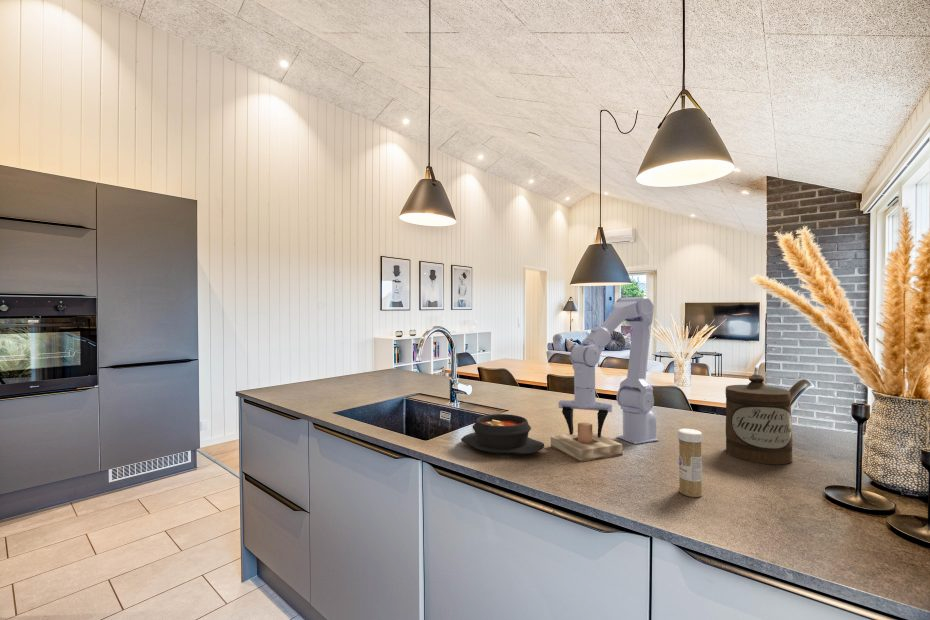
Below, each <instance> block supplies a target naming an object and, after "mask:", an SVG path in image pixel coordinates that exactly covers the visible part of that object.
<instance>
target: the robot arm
mask: <svg viewBox="0 0 930 620" xmlns="http://www.w3.org/2000/svg"><path fill="white" fill-rule="evenodd" d="M612 308H613V309H612V310H611V312H610V313H609V315H608V316H607V317H606V319H605V320H604V322H603V323H602V324H601V326H596V327H592V328H591V330H590V333H588V335H587V336H586V337H585V338H584V339H583V340H581V343H580V344H577V345H574V346H573V348H572V349H571V351H570V353H569V355H568V356H569V361H570V362H571V364H572V369H573V375H574V376H573V381H574V382H573V383H574V384H573V386H574V389H573V390H574V396H573V397H574V400H563V399H562V400H561V399H560V400H559V401H558V409H562V410H561V413H562V414H563V417H564V419H565V422H566V424H567V426H568V427H567V428H568V434H570V435H572V434H573V433H574V409H575V410H584V411H597V434H598V438H600V437H601V436H602V431H603V426H604V423H605V420H606V418H607V416H608V413H612V412H613V404H612V403H605V402H597V401H596V365H597V364H598V363H599V362H600V358H601V354H602V351H603V350H604V349H605V348H606V346H607V345H608V344H609V343H610V342H611V339H612V337H611V336H612V335H611V334H612V333H613V332H614V331H616V329H617V328H618V327H619V326H620V325H621V324H622V323H623V322H625V323H626V324H628V325H629V326H630V327H631V329H632V330H631V341H630V348H629V349H630V350H629V358H628V366H627V375H626V378H625V379H623V380H622V381H621V382H620V383H619V389H618V390H617V393H616V401H617V402H616V403H617V405H618V406H620V410H622V434H619V435H617V434H616V438H618V439H621V440H623V441H626V442H628V443H631V444H635V445H638V444H643V443H645V444H646V443H649V442H650V443H652V442H656V441H657V442H658V441H659V438H657V418H656V415H655V413H654V412H653V411H652V409H653V408H654V404H655V397H654V388H653V386H652V385H651V384H650V383H649V382H648V381H647V380H646V379H647V372H648V371H647V370H648V363H649V362H648V360H649V350H650V343H651V333H652V332H651V331H652V324H653V318H654V309H655V305H654V303H653V302H652V301H651V299H650V297H648V296H637V297H635V296H634V297H619V298H617V299H616V301H615V302H614V303H613V305H612Z"/></svg>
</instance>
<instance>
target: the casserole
mask: <svg viewBox="0 0 930 620" xmlns="http://www.w3.org/2000/svg"><path fill="white" fill-rule="evenodd" d="M472 429H473V431H474V432H471V433H468V434H465V435H464V436H463V437H461V439H460V440H461V442H462V443H464V444H467V445H470V446H471V447H473V448H475V449H477V450H479V451H483V452H487V453H490V454H495V455H512V454H519V455H529V454H535V453H537V452H539V451H542V450H543V449H544V448H545V443H544V442H542V441H539V440H537V439H533V438H531V437H529V433H530V431H531V430H532V427H531V425H529V421H528V419H527V418H525V417H523V416H519V415H515V414H509V413H508V414H507V413H506V414H505V413H493V414H486V415H481V416H478V417H477V418H475V423H474V424H473V425H472Z"/></svg>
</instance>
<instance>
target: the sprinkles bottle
mask: <svg viewBox="0 0 930 620" xmlns="http://www.w3.org/2000/svg"><path fill="white" fill-rule="evenodd" d="M677 438H678V441H679V442H678V443H679V444H678V449H679V452H678V453H679V455H678V476H679V480H678V481H679V487H678V491H679V492H680V494H682V495H684V496H687V497H691V498H693V497H694V498H699V497H701V496H703V490H702V489H703V488H702V486H703V485H702V484H703V482H702V480H703V459H702V457H703V455H702V442H703V433H702V432H701V431H700V430H697V429H693V428H679V429H678V430H677Z"/></svg>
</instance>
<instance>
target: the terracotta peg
mask: <svg viewBox="0 0 930 620" xmlns="http://www.w3.org/2000/svg"><path fill="white" fill-rule="evenodd" d="M592 432H593V424H592V423H589V422H578V423H577V433H578V442H580V443H582V444H588V443H593V442H592Z"/></svg>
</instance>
